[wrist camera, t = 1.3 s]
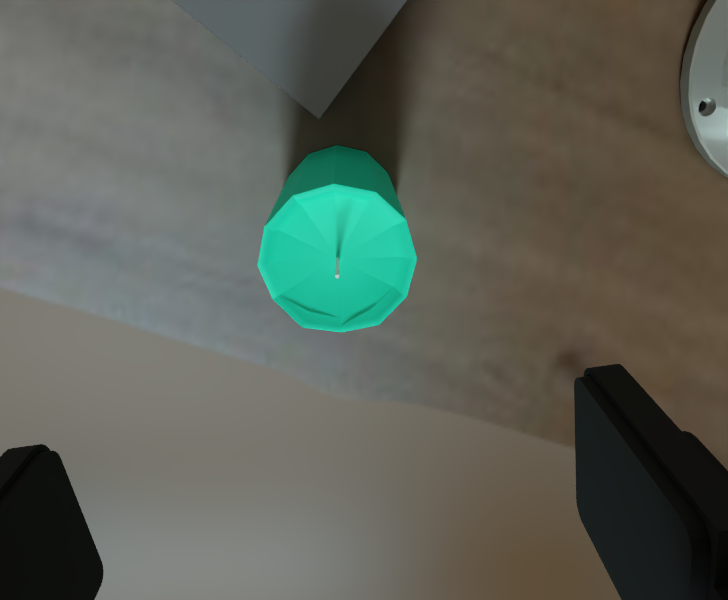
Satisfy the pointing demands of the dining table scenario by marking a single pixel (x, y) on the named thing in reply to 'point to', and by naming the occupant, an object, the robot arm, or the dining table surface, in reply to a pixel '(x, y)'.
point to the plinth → (299, 39)
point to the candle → (337, 243)
